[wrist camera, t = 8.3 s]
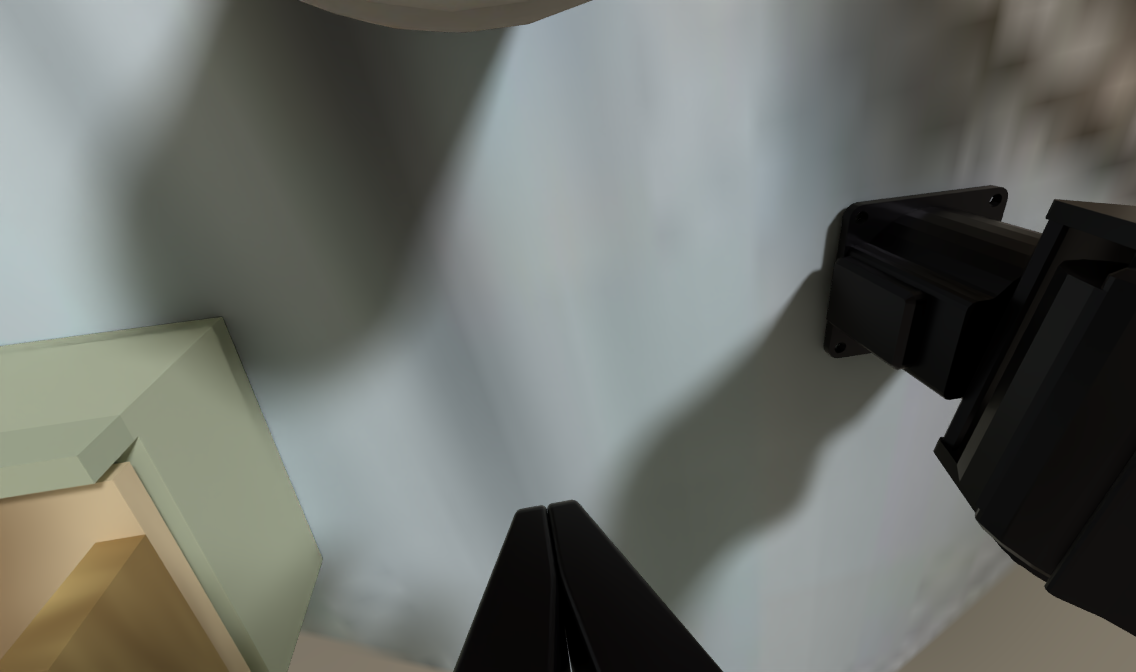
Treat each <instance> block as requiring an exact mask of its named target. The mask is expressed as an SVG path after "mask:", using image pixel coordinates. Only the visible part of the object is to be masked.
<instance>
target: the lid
mask: <svg viewBox="0 0 1136 672" xmlns="http://www.w3.org/2000/svg"><path fill="white" fill-rule="evenodd" d="M0 672H251V671H250V669H249V667H248V665H247V664H246V662H245V660H244V658H243V657H242V655H241V653H240V652H239V650H238V648H237V646H236V645H235V643H234V641H233V639H232V638H231V636H230V634H229V633H228V631H227V629H226V627H225V626H224V624H223V622H222V620H221V619H220V617H219V615H218V614H217V612H216V610H215V608H214V607H213V605H212V603H211V601H210V600H209V598H208V596H207V595H206V593H205V591H204V589H203V588H202V586H201V584H200V582H199V581H198V579H197V577H196V576H195V574H194V572H193V570H192V569H191V567H190V565H189V563H188V562H187V560H186V558H185V557H184V555H183V553H182V551H181V550H180V548H179V546H178V544H177V543H176V541H175V539H174V538H173V536H172V534H171V532H170V531H169V529H168V527H167V525H166V524H165V522H164V520H163V519H162V517H161V515H160V513H159V512H158V510H157V508H156V507H155V505H154V503H153V501H152V500H151V498H150V496H149V494H148V493H147V491H146V489H145V488H144V486H143V484H142V482H141V481H140V479H139V477H138V475H137V474H136V472H135V470H134V469H133V467H132V465H131V463H130V462H123V463H117V464H112V465H111V466H110V467H109V469H108V470H107V471H106V472H105V473H104V474H103V475H102V476H101V477H100V478H99V479H98V480H97V481H96V483H95V484H89V485H83V486H76V487H70V488H64V489H57V490H51V491H45V492H39V493H32V494H26V495H20V496H13V497H7V498H1V499H0Z"/></svg>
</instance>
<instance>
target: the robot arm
mask: <svg viewBox="0 0 1136 672" xmlns="http://www.w3.org/2000/svg"><path fill="white" fill-rule="evenodd" d="M992 197H993V199H992V201H991V202H990V199H991V198H992ZM1007 199H1008V192H1007V190H1006V189H1005V188H1003V187H998V186H993V185H989V186H981V187H973V188H965V189H957V190H949V191H942V192H934V193H926V194H918V195H910V196H902V197H894V198H886V199H879V200H871V201H863V202H856V203H853V204H851V205H850V206H849V207H848V208H847V209H846V210H845V212H844V215H843V219H842V226H841V232H840V239H839V246H838V253H837V259H836V263H835V265H834V271H833V278H832V285H831V291H830V298H829V305H828V312H827V326H826V333H825V340H824V350H825V351H826V352H827V353H828V354H829V355H830V356H832V357H834V358H842V357H849V356H855V355H861V354H868V353H873V354H874V355H876V356H877V357H879V358H880V359H881V360H883V361H884V362H886V363H887V364H888V365H890V366H891V367H893V368H894V369H897V370H898V369H903V370H904V371H906V372H907V373H909V374H910V375H912V376H913V377H914V378H916V379H917V380H919V381H920V382H922V383H923V384H925V385H926V386H927V387H929V388H930V389H932V390H933V391H935V392H936V393H937V394H939V395H940V396H942V397H943V398H945V399H947V400H952V399H958V398H961V399H962V400H961V402H960V405H959V407H958V409H957V411H956V413H955V415H954V417H953V419H952V421H951V423H950V425H949V427H948V429H947V431H946V433H945V436H944V437H940V438H939V440H938V442H937V444H936V447H935V449H934V454H935V455H936V456H937V458H938V459H939V461H940V462H941V464H942V465H943V467H944V468H945V469H946V471H947V472H948V474H949V475H950V477H951V478H952V480H953V481H954V483H955V484H956V485H957V487H958V488H959V490H960V491H961V493H962V494H963V496H964V497H965V498H966V500H967V501H968V503H969V504H970V506H971V507H972V509H973V510H974V512H975V518H976V520H977V522H978V523H979V525H980V526H981V527H982V529H983V530H985V531H986V532H987V533H988V534H989V535H990V536H991V537H992V538H993V539H994V540H995V541H996V542H997V543H998V545H999V546H1000V547H1001V548H1002V549H1003V550H1004V551H1005V552H1006V553H1007V554H1008V555H1009V556H1010V557H1011V558H1012V560H1013V561H1015V562H1016V563H1017V564H1019V565H1021V566H1023V567H1024V568H1026V569H1027V570H1028V571H1029V572H1031V573H1032V574H1034V575H1035V576H1037V577H1038V578H1040V579H1042V580H1043V581H1045V582H1046V584H1045V589H1046V590H1047V591H1048V592H1049V593H1050V594H1052V595H1053V596H1055V597H1057V598H1059V599H1061V600H1063V601H1066V602H1068V603H1070V604H1073V605H1075V606H1077V607H1080V608H1082V609H1084V610H1086V611H1088V612H1091V613H1093V614H1096V615H1097V616H1100V617H1102V618H1104V619H1106V620H1107V621H1109V622H1111V623H1113V624H1114V625H1116V626H1118V627H1120V628H1122V629H1123V630H1125V631H1127V632H1129V633H1130V634H1132V635H1134V636H1136V206H1130V205H1118V204H1106V203H1094V202H1082V201H1070V200H1058V199H1054V201H1053V203H1052V205H1051V207H1050V209H1049V211H1048V213H1047V215H1046V219H1048V220H1049V221H1048V223H1047V225H1046V227H1045V229H1044V231H1043V233H1039V232H1036V231H1032V230H1029V229H1025V228H1022V227H1018V226H1015V225H1011V224H1008V223H1004V222H1001V220H1002V217H1003V213H1004V210H1005V206H1006V203H1007ZM859 212H861V214H862V215H861V217H860V219H859V220H858V221H856V220H855V218H856V216H857V214H858V213H859ZM838 343H840V345H839V346H838V347H837V348H835V346H836V345H837V344H838ZM547 512H548V513H547ZM566 638H567V639H566ZM567 645H568V646H567ZM568 651H569V654H568ZM569 657H570V662H571V668H572V672H723V671H722V670H721V669H720V667H719V666H718V665H717V664H716V663H715V662H714V660H713V659H712V658H711V657H710V656H709V655H708V653H707V652H706V651H705V650H704V649H703V648H702V646H701V645H700V644H699V643H698V642H697V641H696V639H695V638H694V637H693V636H692V635H691V634H690V632H689V631H688V630H687V629H686V628H685V626H684V625H683V624H682V623H681V622H680V621H679V619H678V618H677V617H676V616H675V615H674V614H673V612H672V611H671V610H670V609H669V608H668V607H667V605H666V604H665V603H664V602H663V601H662V600H661V598H660V597H659V596H658V595H657V594H656V593H655V591H654V590H653V589H652V588H651V587H650V586H649V584H648V583H647V582H646V581H645V580H644V579H643V577H642V576H641V575H640V574H639V573H638V572H637V570H636V569H635V568H634V567H633V566H632V565H631V563H630V562H629V561H628V560H627V559H626V558H625V556H624V555H623V554H622V553H621V552H620V551H619V549H618V548H617V547H616V546H615V545H614V544H613V542H612V541H611V540H610V539H609V538H608V537H607V535H606V534H605V533H604V532H603V531H602V530H601V528H600V527H599V526H598V525H597V524H596V523H595V521H594V520H593V519H592V518H591V517H590V516H589V514H588V513H587V512H586V511H585V510H584V509H583V507H582V506H581V505H580V504H579V503H578V502H577V501H575V500H568V501H562V502H556V503H551V504H550V505H548V508H547V509H546V507H545V506H543V505H540V506H534V507H528V508H523V509H519V510H518V511H517V512H516V513H515V515H514V518H513V520H512V523H511V525H510V528H509V530H508V533H507V536H506V538H505V541H504V543H503V546H502V548H501V551H500V553H499V556H498V559H497V561H496V564H495V566H494V569H493V571H492V574H491V576H490V579H489V581H488V584H487V587H486V589H485V592H484V594H483V597H482V599H481V602H480V604H479V607H478V610H477V612H476V615H475V617H474V620H473V622H472V625H471V627H470V630H469V633H468V635H467V638H466V640H465V643H464V645H463V648H462V650H461V653H460V656H459V658H458V661H457V663H456V666H455V668H454V671H453V672H571V669H570V662H569Z"/></svg>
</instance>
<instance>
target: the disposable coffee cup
mask: <svg viewBox="0 0 1136 672" xmlns="http://www.w3.org/2000/svg"><path fill="white" fill-rule="evenodd" d="M299 1H301V2H304V3H307V4H310V5H312V6H315V7H318V8H321V9H323V10H326V11H329V12H332V13H334V14H338V15H342V16H346V17H350V18H353V19H357V20H361V21H365V22H369V23H373V24H378V25H382V26H386V27H391V28H395V29H407V30H422V31H438V32H472V31H480V30H488V29H495V28H503V27H511V26H518V25H525V24H530V23H533V22H535V21H538V20H541V19H543V18H546V17H549V16H551V15H554V14H557V13H559V12H562V11H565V10H567V9H570V8H573V7H576V6H578V5H581V4H584V3H586V2H589V1H592V0H299Z"/></svg>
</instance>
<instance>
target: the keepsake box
mask: <svg viewBox="0 0 1136 672" xmlns="http://www.w3.org/2000/svg"><path fill="white" fill-rule="evenodd" d="M123 462H130V463H131V465H132V467H133V469H134V470H135V472H136V474H137V475H138V477H139V479H140V481H141V482H142V484H143V486H144V488H145V489H146V491H147V493H148V494H149V496H150V498H151V500H152V501H153V503H154V505H155V507H156V508H157V510H158V512H159V513H160V515H161V517H162V519H163V520H164V522H165V524H166V525H167V527H168V529H169V531H170V532H171V534H172V536H173V538H174V539H175V541H176V543H177V544H178V546H179V548H180V550H181V551H182V553H183V555H184V557H185V558H186V560H187V562H188V563H189V565H190V567H191V569H192V570H193V572H194V574H195V576H196V577H197V579H198V581H199V582H200V584H201V586H202V588H203V589H204V591H205V593H206V595H207V596H208V598H209V600H210V601H211V603H212V605H213V607H214V608H215V610H216V612H217V614H218V615H219V617H220V619H221V620H222V622H223V624H224V626H225V627H226V629H227V631H228V633H229V634H230V636H231V638H232V639H233V641H234V643H235V645H236V646H237V648H238V650H239V652H240V653H241V655H242V657H243V658H244V660H245V662H246V664H247V665H248V667H249V669H250V671H251V672H287V671H288V668H289V665H290V661H291V658H292V655H293V652H294V649H295V646H296V642H297V639H298V636H299V633H300V630H301V627H302V624H303V620H304V617H305V614H306V611H307V608H308V605H309V601H310V598H311V595H312V592H313V589H314V586H315V582H316V579H317V576H318V573H319V570H320V567H321V563H322V560H323V559H322V556H321V554H320V551H319V549H318V547H317V544H316V542H315V539H314V537H313V535H312V532H311V530H310V527H309V525H308V523H307V520H306V518H305V515H304V513H303V510H302V508H301V506H300V503H299V501H298V498H297V496H296V494H295V491H294V489H293V486H292V484H291V482H290V479H289V477H288V474H287V472H286V469H285V467H284V465H283V462H282V460H281V457H280V455H279V453H278V450H277V448H276V445H275V443H274V441H273V438H272V436H271V433H270V431H269V429H268V426H267V424H266V421H265V419H264V416H263V414H262V412H261V409H260V407H259V404H258V402H257V400H256V397H255V395H254V392H253V390H252V388H251V385H250V383H249V380H248V378H247V375H246V373H245V371H244V368H243V366H242V363H241V361H240V359H239V356H238V354H237V351H236V349H235V347H234V344H233V342H232V339H231V337H230V334H229V332H228V330H227V327H226V325H225V322H224V320H223V318H222V317H216V318H208V319H201V320H193V321H186V322H178V323H171V324H163V325H156V326H148V327H141V328H133V329H126V330H118V331H110V332H103V333H95V334H88V335H80V336H73V337H65V338H58V339H50V340H43V341H35V342H28V343H20V344H13V345H5V346H0V499H1V498H7V497H13V496H20V495H26V494H32V493H39V492H45V491H51V490H57V489H64V488H70V487H76V486H83V485H89V484H95V483H96V481H97V480H98V479H99V478H100V477H101V476H102V475H103V474H104V473H105V472H106V471H107V470H108V469H109V467H110V466H111V465H112V464H117V463H123Z"/></svg>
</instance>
